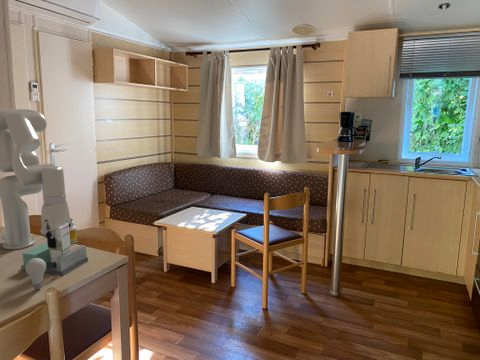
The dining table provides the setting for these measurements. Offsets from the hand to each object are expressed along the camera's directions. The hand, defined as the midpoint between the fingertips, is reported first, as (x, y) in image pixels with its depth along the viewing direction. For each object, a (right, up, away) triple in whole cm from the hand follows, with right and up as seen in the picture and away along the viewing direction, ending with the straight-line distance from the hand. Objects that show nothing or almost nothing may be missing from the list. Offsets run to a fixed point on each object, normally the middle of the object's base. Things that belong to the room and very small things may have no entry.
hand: (58, 244), depth 141 cm
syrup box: (0, -7, +1) cm, 7 cm away
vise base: (-1, -9, +2) cm, 9 cm away
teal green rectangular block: (-7, -7, +3) cm, 10 cm away
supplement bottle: (-8, -4, +27) cm, 29 cm away
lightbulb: (+2, -12, -17) cm, 21 cm away
